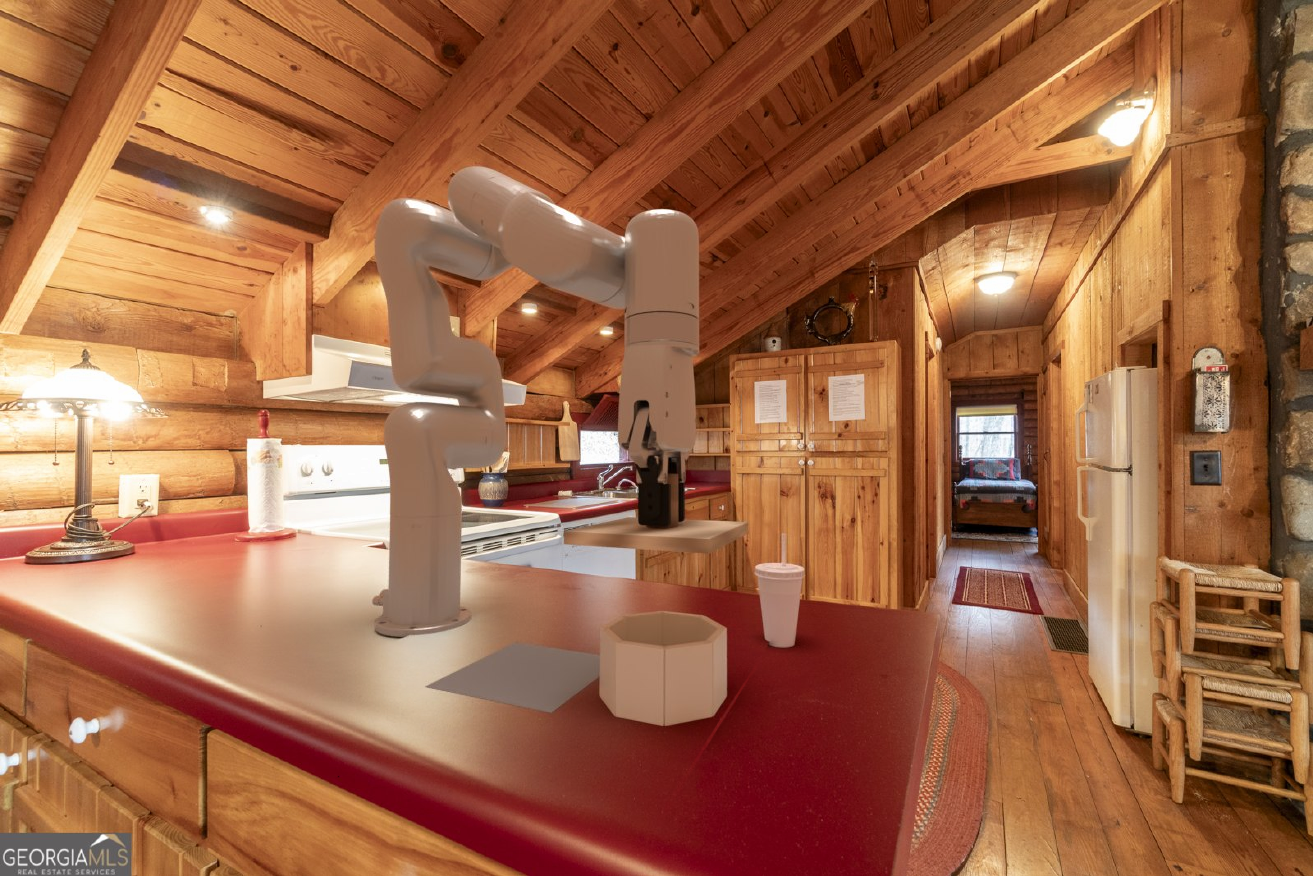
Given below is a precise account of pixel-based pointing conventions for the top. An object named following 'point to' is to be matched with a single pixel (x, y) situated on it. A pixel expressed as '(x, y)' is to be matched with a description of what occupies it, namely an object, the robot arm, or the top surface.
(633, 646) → the bowl
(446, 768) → the top surface
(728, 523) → the lid
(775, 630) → the smoothie
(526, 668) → the mat
